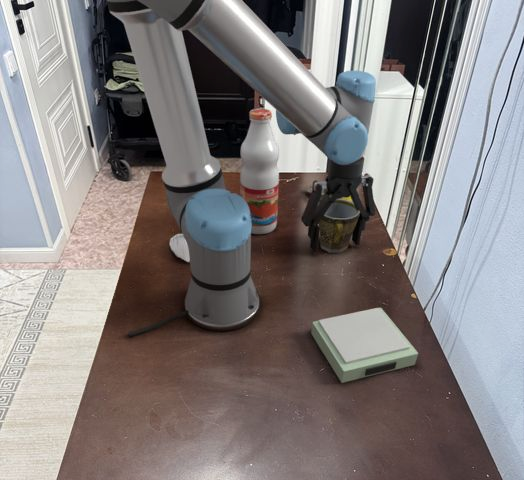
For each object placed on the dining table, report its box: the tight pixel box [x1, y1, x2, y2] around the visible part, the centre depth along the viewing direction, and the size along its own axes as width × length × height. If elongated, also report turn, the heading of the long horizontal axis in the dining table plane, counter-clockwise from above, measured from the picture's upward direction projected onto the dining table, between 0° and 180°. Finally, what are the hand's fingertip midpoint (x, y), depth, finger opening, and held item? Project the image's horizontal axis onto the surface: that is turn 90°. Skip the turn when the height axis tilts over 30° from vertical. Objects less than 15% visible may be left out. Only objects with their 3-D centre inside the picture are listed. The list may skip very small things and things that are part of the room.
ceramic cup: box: [318, 199, 360, 254], centre depth 117 cm, size 13×10×10 cm
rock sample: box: [305, 186, 327, 201], centre depth 139 cm, size 10×8×9 cm
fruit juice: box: [239, 107, 280, 235], centre depth 118 cm, size 9×9×28 cm
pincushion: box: [169, 230, 190, 263], centre depth 116 cm, size 12×6×6 cm, turn 19°
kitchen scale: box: [310, 307, 419, 384], centre depth 93 cm, size 15×14×4 cm
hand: (334, 245), depth 120 cm, fingers open, 10 cm apart
